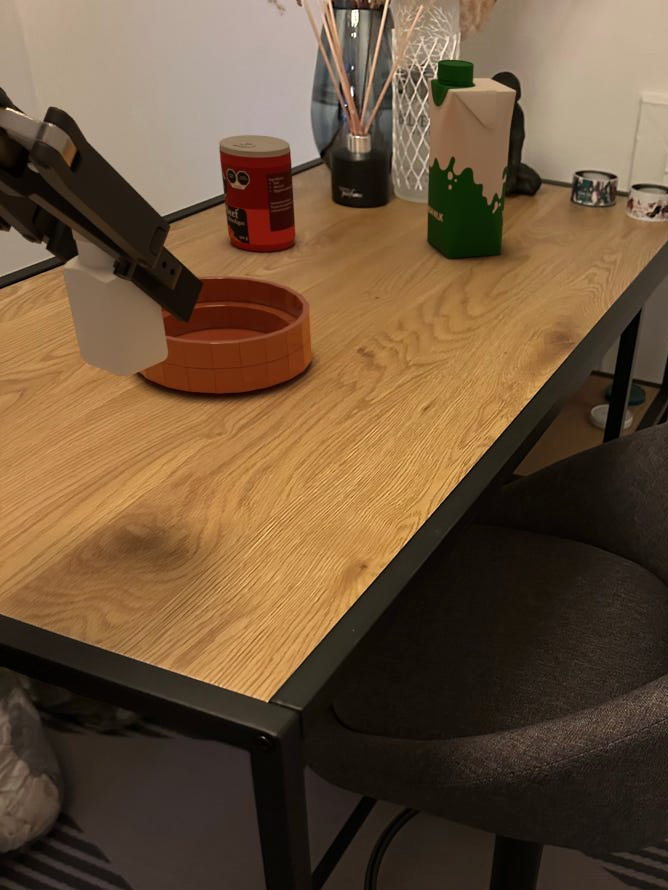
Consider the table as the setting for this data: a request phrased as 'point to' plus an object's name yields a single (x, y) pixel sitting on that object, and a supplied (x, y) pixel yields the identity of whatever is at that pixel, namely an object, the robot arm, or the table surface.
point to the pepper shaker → (112, 314)
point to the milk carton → (467, 160)
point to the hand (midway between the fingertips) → (158, 293)
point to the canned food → (258, 192)
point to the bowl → (236, 338)
